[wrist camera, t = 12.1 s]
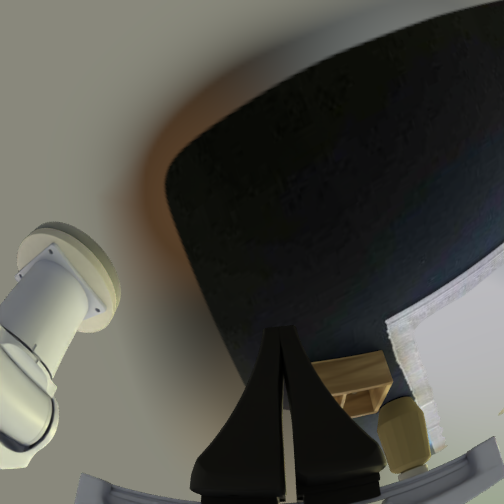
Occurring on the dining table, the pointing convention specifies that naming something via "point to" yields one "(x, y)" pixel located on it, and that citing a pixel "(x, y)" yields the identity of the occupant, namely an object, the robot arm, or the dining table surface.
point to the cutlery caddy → (356, 381)
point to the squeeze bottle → (404, 437)
